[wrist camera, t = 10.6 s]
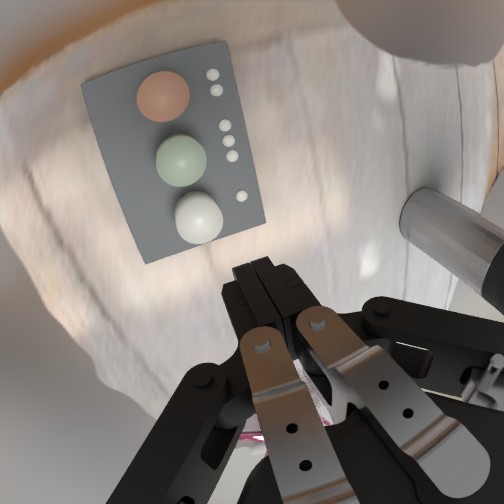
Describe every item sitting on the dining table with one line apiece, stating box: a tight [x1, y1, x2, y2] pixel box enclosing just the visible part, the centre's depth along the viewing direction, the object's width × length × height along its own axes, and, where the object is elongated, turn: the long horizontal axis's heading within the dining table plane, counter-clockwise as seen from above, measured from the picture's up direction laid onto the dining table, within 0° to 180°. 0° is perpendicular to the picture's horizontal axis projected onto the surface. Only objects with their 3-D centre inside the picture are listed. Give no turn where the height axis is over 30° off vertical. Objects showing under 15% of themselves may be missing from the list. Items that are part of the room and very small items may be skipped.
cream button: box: [174, 191, 223, 244], centre depth 30 cm, size 4×4×3 cm
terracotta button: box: [136, 71, 190, 122], centre depth 23 cm, size 4×4×3 cm
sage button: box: [156, 133, 207, 187], centre depth 26 cm, size 4×4×3 cm
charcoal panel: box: [81, 40, 266, 264], centre depth 29 cm, size 14×20×2 cm
